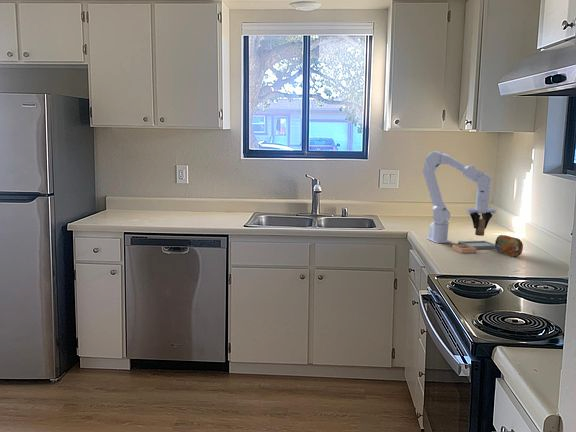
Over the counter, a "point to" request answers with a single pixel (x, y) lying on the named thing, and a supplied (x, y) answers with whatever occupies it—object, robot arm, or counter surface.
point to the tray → (478, 244)
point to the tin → (509, 245)
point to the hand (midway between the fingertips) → (479, 228)
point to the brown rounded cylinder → (480, 228)
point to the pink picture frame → (464, 248)
